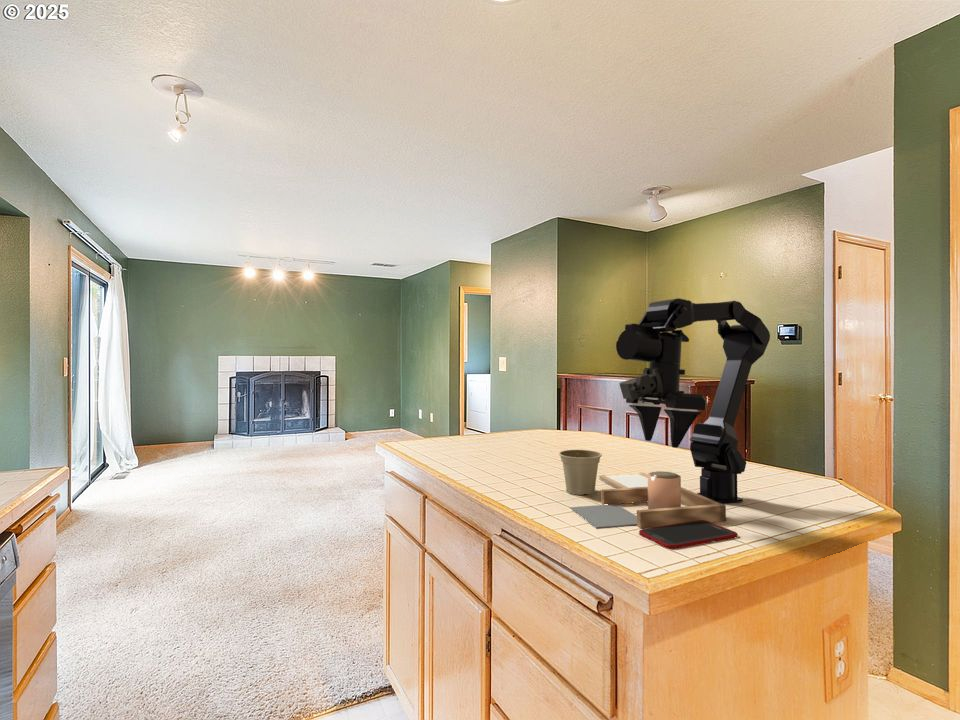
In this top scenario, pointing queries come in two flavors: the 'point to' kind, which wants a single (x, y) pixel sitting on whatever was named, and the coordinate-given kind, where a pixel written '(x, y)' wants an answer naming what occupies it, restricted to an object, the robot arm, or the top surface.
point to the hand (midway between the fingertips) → (660, 443)
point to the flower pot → (580, 470)
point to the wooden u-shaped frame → (693, 510)
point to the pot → (664, 490)
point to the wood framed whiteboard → (626, 480)
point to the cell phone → (687, 534)
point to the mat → (606, 515)
